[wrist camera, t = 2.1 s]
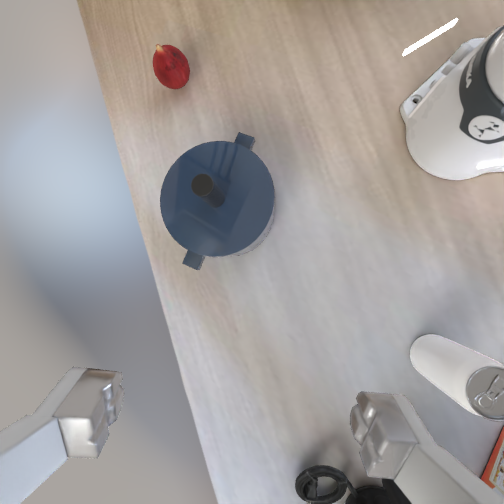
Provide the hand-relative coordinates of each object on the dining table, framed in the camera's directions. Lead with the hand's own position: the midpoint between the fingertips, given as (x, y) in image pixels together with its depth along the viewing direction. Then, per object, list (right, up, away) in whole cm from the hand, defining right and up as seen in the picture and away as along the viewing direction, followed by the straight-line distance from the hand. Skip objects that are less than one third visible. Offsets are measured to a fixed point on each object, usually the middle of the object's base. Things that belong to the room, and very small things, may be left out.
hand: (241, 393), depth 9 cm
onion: (-13, +36, +38) cm, 54 cm away
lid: (-4, +12, +26) cm, 29 cm away
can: (+27, -11, +30) cm, 42 cm away
